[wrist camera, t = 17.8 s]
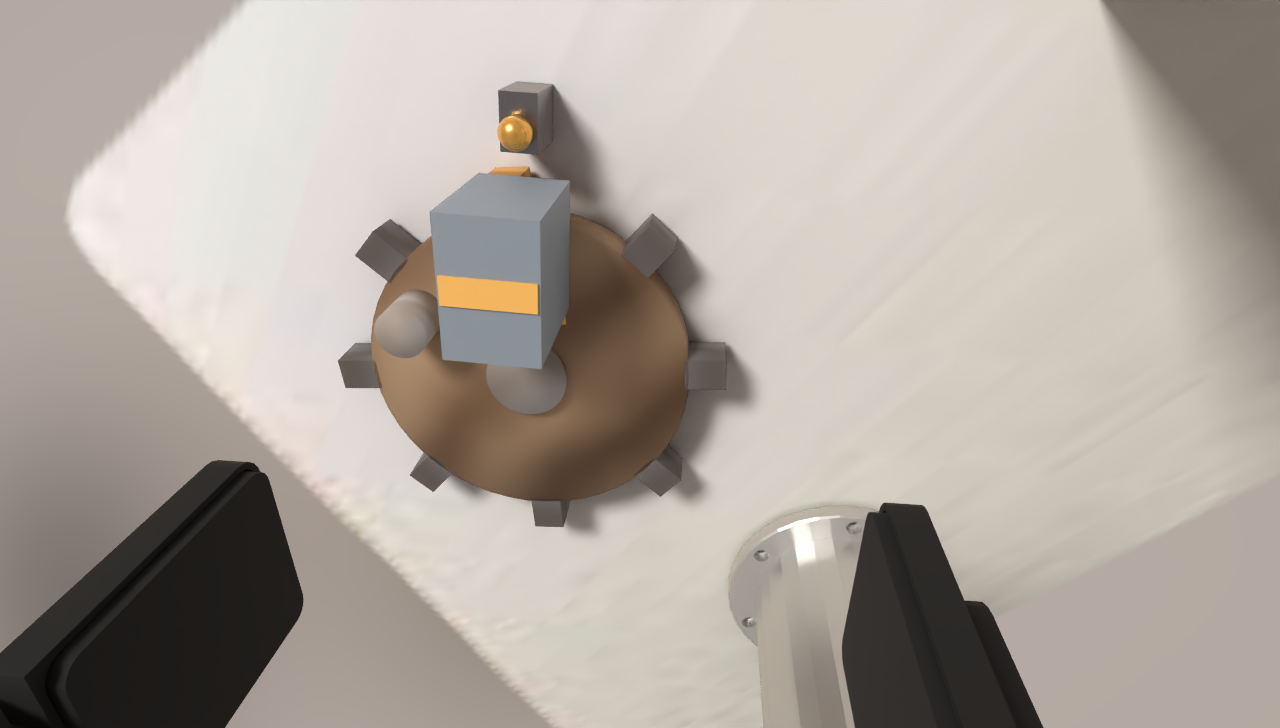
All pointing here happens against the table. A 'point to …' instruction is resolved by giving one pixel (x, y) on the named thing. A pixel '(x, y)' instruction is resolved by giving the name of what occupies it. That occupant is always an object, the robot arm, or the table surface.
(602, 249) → the sprocket
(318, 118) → the table surface
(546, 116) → the block with gold knob
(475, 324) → the link block
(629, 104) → the table surface
